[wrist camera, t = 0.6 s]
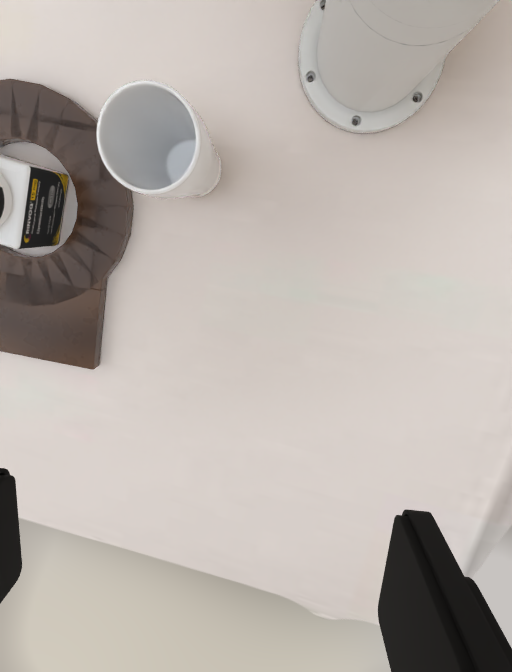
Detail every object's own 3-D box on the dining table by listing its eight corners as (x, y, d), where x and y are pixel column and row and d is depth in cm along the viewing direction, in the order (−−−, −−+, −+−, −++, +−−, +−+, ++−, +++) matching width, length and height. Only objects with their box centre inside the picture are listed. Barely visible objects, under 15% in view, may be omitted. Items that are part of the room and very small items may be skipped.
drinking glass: (209, 218, 42) (171, 215, 27) (148, 183, 41) (77, 160, 27) (242, 154, 40) (220, 114, 26) (179, 116, 40) (121, 54, 25)
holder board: (-73, 65, 40) (-87, 59, 38) (144, 107, 40) (138, 103, 38) (-68, 331, 47) (-80, 335, 45) (116, 368, 47) (111, 373, 45)
